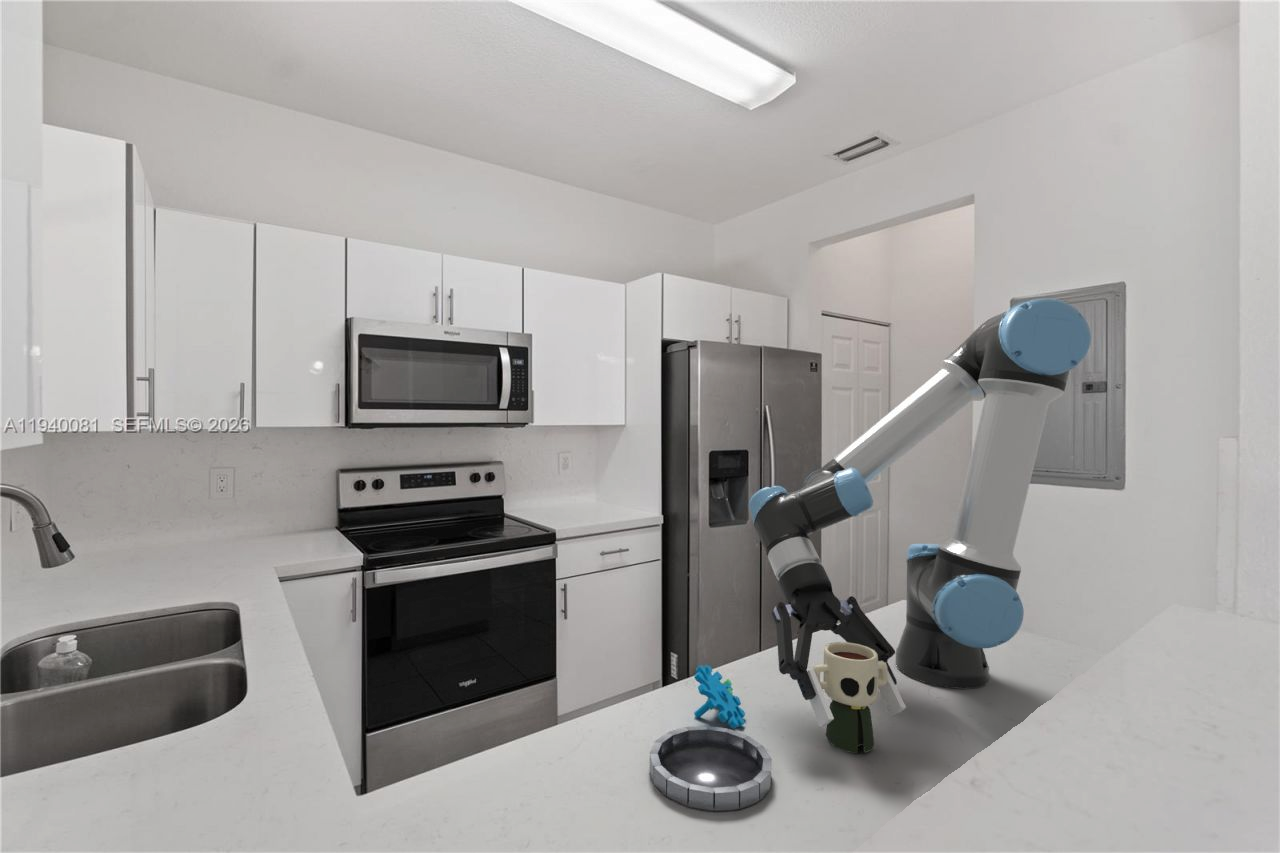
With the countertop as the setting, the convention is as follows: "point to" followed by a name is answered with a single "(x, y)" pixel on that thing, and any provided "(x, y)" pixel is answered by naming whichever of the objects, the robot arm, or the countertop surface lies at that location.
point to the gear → (718, 697)
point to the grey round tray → (710, 768)
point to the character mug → (851, 693)
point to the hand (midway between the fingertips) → (863, 717)
